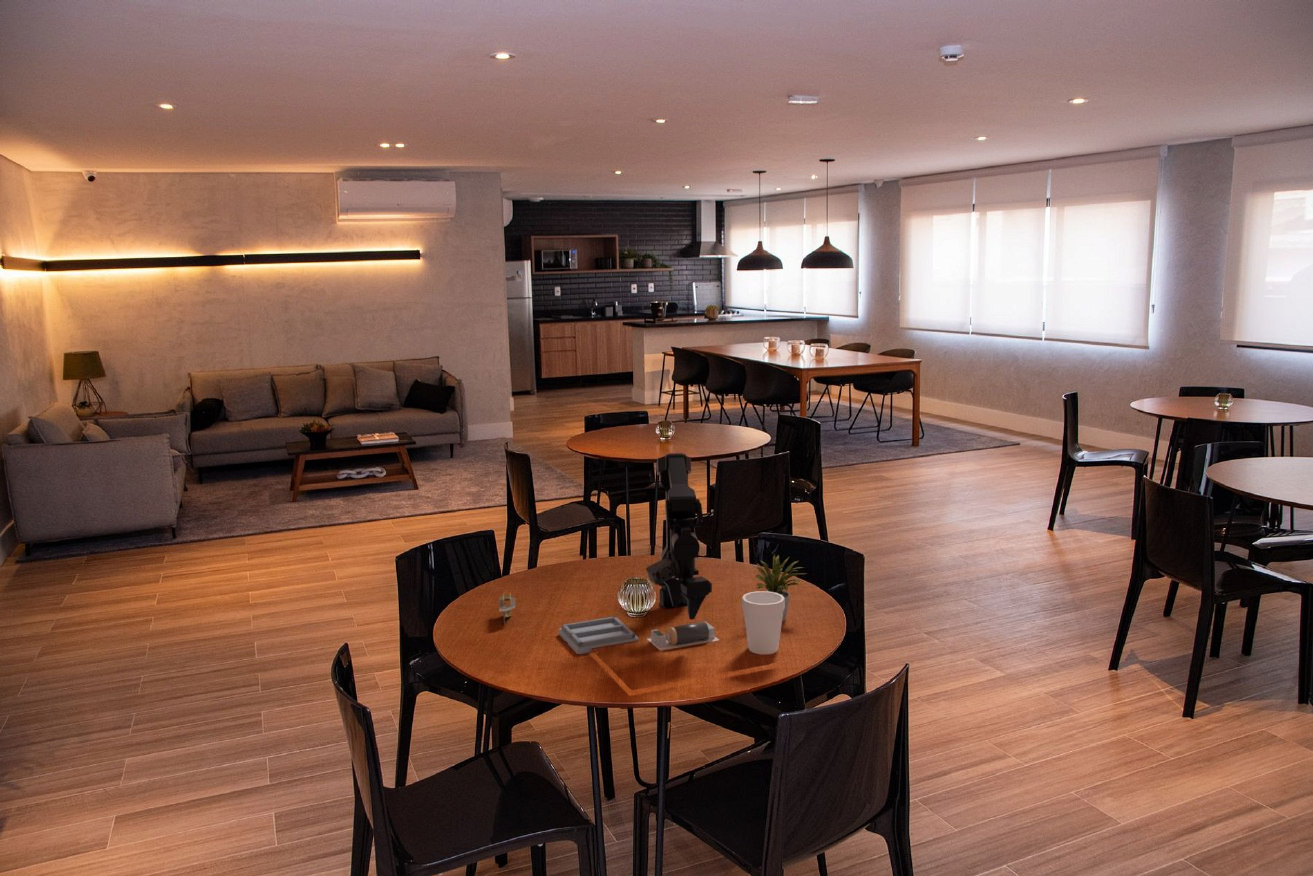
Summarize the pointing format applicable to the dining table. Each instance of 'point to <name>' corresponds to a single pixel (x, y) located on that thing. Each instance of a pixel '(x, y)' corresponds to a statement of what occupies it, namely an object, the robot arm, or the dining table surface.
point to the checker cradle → (662, 644)
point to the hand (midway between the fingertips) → (683, 613)
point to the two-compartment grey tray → (596, 634)
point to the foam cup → (763, 620)
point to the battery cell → (687, 633)
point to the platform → (506, 608)
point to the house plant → (773, 582)
